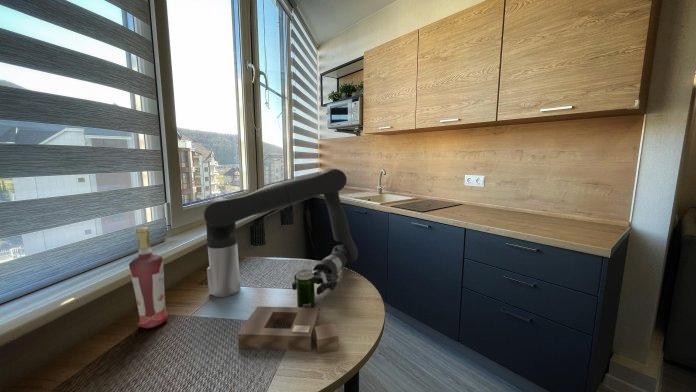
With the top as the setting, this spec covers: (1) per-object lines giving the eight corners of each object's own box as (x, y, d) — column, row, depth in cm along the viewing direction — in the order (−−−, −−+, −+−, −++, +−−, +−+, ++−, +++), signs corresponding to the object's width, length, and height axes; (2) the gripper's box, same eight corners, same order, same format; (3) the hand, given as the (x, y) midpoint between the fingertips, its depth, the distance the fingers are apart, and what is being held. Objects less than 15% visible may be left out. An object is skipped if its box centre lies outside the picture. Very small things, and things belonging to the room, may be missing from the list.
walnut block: (318, 354, 62) (317, 339, 61) (315, 340, 66) (314, 326, 66) (338, 350, 63) (338, 335, 62) (334, 337, 68) (333, 323, 67)
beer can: (317, 311, 79) (316, 274, 77) (300, 316, 77) (298, 278, 75) (311, 302, 84) (310, 267, 82) (295, 307, 81) (294, 271, 80)
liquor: (167, 326, 72) (156, 229, 68) (134, 335, 69) (120, 233, 65) (171, 313, 79) (160, 223, 75) (141, 320, 75) (128, 227, 71)
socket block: (238, 348, 64) (237, 333, 63) (258, 318, 76) (257, 305, 75) (310, 351, 63) (310, 335, 62) (319, 320, 74) (318, 307, 74)
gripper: (310, 256, 96) (285, 274, 81) (346, 261, 91) (326, 281, 76) (311, 275, 97) (286, 296, 82) (346, 281, 92) (326, 305, 77)
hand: (305, 289), depth 79 cm, fingers open, 8 cm apart
